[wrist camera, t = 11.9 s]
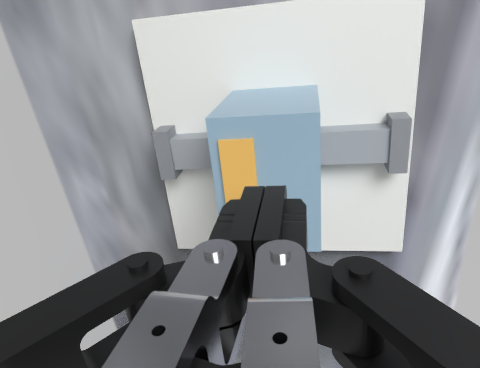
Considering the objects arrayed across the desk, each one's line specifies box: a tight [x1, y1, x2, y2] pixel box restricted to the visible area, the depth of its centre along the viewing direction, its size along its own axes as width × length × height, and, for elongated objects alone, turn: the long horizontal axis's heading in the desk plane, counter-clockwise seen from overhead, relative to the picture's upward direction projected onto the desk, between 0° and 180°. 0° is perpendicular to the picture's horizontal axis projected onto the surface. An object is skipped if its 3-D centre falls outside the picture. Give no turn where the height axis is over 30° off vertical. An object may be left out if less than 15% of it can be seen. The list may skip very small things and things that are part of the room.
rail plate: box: [132, 0, 425, 251], centre depth 23 cm, size 16×16×2 cm
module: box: [205, 85, 321, 252], centre depth 20 cm, size 7×5×7 cm
